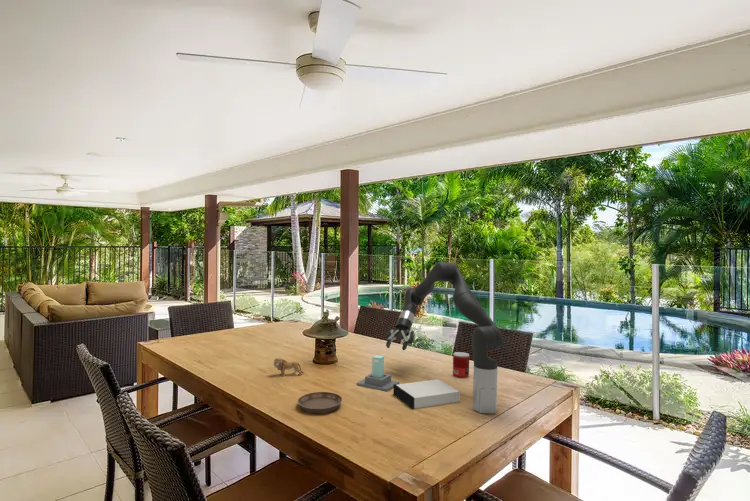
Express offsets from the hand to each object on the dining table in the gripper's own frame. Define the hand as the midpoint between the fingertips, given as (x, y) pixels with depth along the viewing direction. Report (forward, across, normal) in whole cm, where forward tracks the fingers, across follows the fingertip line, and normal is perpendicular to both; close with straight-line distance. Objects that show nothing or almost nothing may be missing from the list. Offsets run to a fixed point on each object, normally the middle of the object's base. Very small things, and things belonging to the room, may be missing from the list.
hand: (395, 348), depth 206 cm
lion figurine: (+27, -47, -6) cm, 55 cm away
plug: (+18, -3, +1) cm, 19 cm away
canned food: (-5, +26, +26) cm, 37 cm away
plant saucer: (+44, -10, -22) cm, 51 cm away
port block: (+19, -3, +2) cm, 19 cm away
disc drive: (+23, +22, 0) cm, 32 cm away
